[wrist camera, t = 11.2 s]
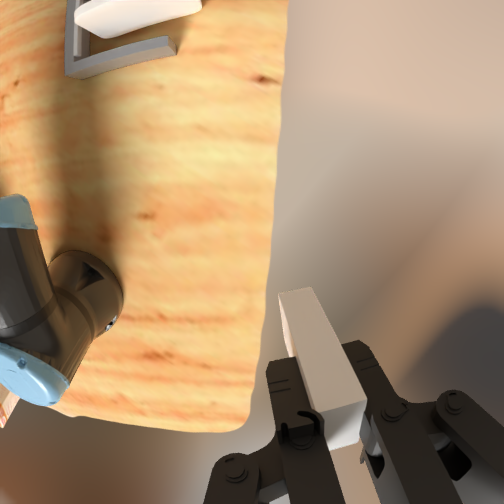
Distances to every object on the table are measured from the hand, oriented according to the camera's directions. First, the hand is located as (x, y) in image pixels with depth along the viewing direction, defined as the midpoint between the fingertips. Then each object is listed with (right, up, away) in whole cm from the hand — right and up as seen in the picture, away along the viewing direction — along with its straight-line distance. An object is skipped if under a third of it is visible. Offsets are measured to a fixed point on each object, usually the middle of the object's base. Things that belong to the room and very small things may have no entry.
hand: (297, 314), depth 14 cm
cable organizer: (-17, +38, +15) cm, 44 cm away
